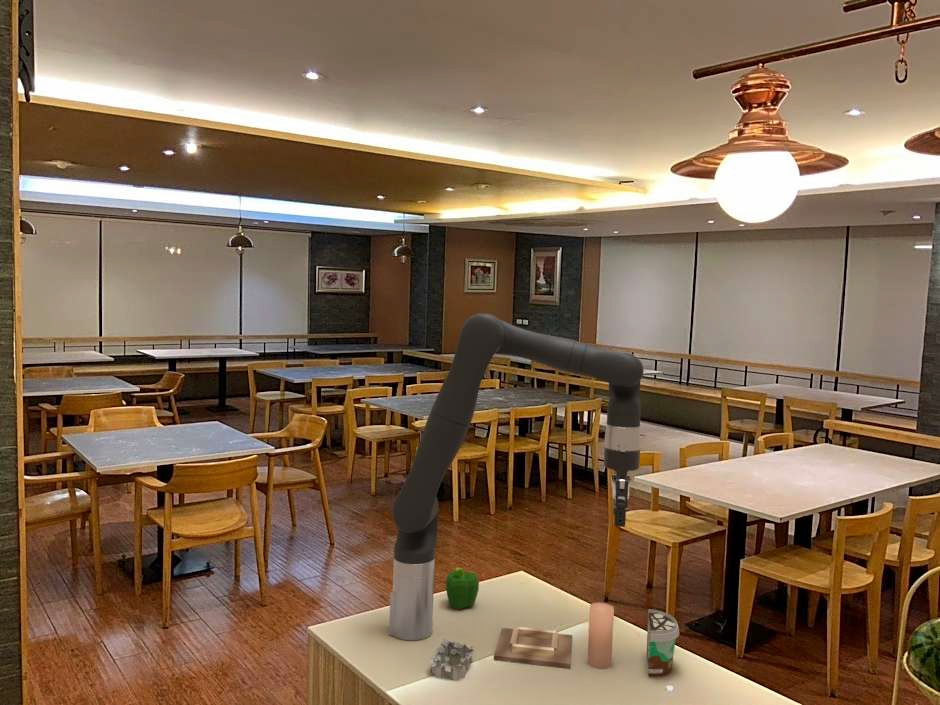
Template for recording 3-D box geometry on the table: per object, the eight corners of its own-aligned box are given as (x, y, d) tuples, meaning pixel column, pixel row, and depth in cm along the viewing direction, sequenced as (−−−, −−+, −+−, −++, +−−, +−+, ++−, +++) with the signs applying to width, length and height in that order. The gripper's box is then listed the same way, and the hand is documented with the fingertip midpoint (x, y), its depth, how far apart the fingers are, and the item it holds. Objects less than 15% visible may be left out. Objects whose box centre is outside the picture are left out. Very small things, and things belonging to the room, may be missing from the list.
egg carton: (462, 684, 144) (463, 663, 143) (426, 677, 146) (427, 657, 146) (476, 659, 154) (477, 640, 154) (443, 654, 156) (443, 635, 156)
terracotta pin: (587, 667, 152) (589, 610, 151) (587, 656, 157) (589, 601, 156) (611, 669, 151) (614, 613, 150) (611, 658, 156) (613, 603, 155)
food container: (679, 684, 146) (682, 635, 145) (648, 680, 147) (650, 631, 147) (675, 656, 158) (677, 611, 158) (646, 652, 159) (648, 607, 159)
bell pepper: (466, 596, 188) (468, 558, 187) (483, 608, 181) (485, 568, 180) (438, 602, 183) (439, 563, 183) (454, 614, 176) (455, 573, 176)
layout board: (493, 660, 153) (494, 648, 153) (501, 632, 167) (502, 621, 167) (570, 668, 151) (570, 656, 151) (572, 639, 165) (572, 628, 164)
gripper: (604, 439, 164) (600, 510, 165) (605, 450, 150) (601, 528, 151) (638, 441, 163) (634, 513, 163) (642, 453, 148) (638, 531, 149)
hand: (619, 520), depth 157 cm, fingers open, 8 cm apart
